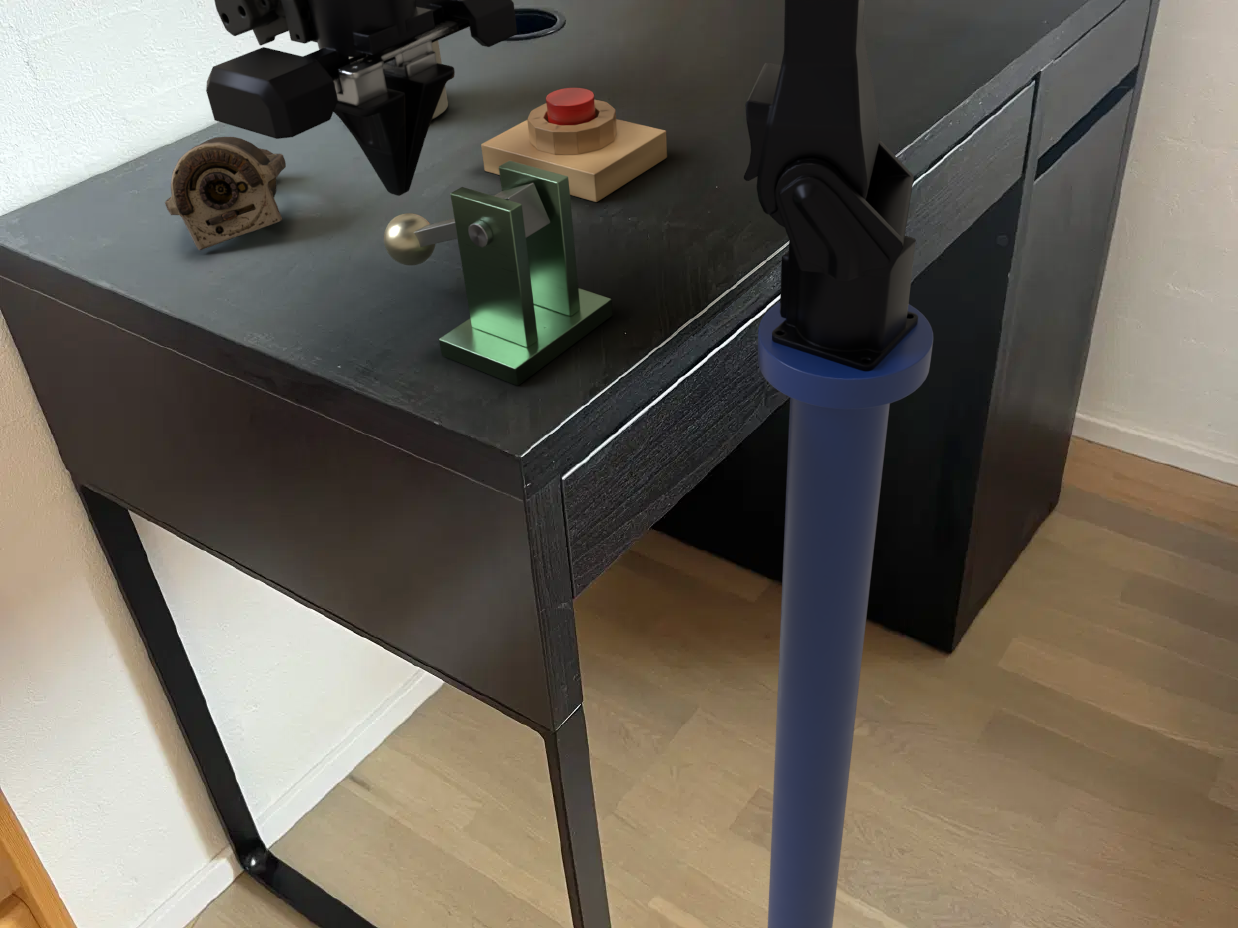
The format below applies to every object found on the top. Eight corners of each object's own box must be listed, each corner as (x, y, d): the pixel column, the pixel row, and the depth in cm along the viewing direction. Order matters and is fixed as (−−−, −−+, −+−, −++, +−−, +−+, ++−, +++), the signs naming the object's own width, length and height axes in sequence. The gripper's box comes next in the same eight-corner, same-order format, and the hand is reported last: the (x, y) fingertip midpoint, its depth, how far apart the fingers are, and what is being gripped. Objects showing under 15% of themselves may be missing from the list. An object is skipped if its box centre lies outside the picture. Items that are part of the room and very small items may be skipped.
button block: (667, 157, 88) (665, 107, 86) (596, 202, 83) (592, 150, 80) (557, 130, 94) (552, 82, 91) (484, 171, 88) (477, 121, 86)
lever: (388, 277, 72) (365, 229, 71) (423, 255, 74) (402, 209, 73) (522, 248, 63) (498, 194, 62) (559, 225, 65) (536, 172, 64)
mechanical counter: (103, 184, 77) (226, 157, 74) (186, 96, 86) (298, 69, 83) (161, 271, 82) (279, 250, 79) (234, 179, 91) (342, 156, 88)
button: (605, 115, 86) (603, 92, 85) (575, 132, 84) (573, 109, 83) (568, 106, 88) (566, 84, 87) (538, 123, 86) (535, 100, 85)
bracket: (441, 356, 68) (413, 204, 62) (538, 290, 73) (521, 145, 67) (517, 386, 65) (496, 229, 59) (612, 315, 70) (601, 165, 64)
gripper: (369, -134, 69) (412, 115, 79) (101, -57, 58) (190, 223, 68) (507, -119, 64) (535, 147, 73) (240, -31, 52) (316, 270, 62)
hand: (398, 192), depth 69 cm, fingers closed
